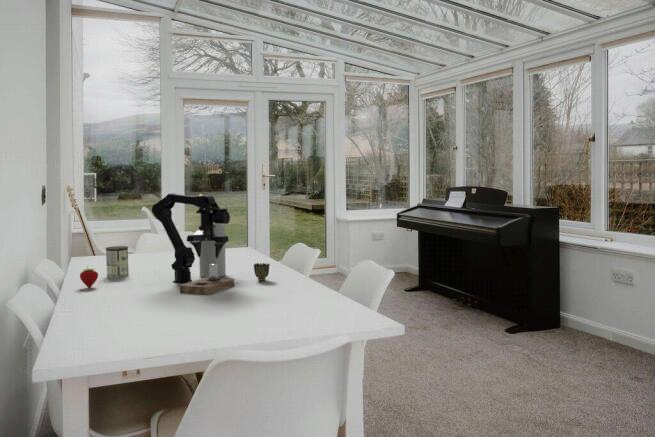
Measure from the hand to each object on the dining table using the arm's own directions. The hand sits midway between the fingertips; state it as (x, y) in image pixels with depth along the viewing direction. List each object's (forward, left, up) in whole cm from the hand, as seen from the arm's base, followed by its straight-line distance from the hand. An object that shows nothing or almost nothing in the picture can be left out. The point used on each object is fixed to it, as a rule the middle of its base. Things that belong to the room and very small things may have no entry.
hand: (207, 257), depth 249 cm
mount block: (+6, -10, -12) cm, 17 cm away
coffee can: (-54, +3, -12) cm, 55 cm away
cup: (+20, +14, -12) cm, 27 cm away
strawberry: (-45, -25, -12) cm, 53 cm away
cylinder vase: (-9, +18, -12) cm, 24 cm away
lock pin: (+6, -5, -12) cm, 14 cm away
